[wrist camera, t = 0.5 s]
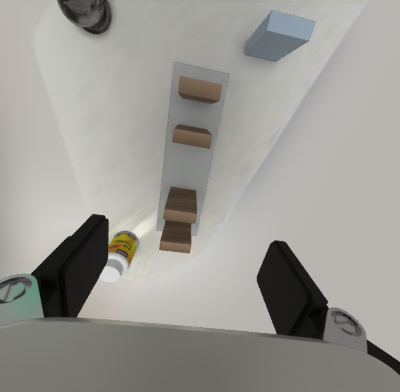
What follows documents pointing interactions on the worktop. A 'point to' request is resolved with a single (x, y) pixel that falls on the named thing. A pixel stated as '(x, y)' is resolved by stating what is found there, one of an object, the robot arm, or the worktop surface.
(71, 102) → the worktop surface
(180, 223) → the tile
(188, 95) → the tile
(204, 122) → the mat
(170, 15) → the worktop surface
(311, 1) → the worktop surface
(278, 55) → the slate tile
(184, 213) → the tile
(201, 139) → the tile
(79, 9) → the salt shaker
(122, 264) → the supplement bottle
